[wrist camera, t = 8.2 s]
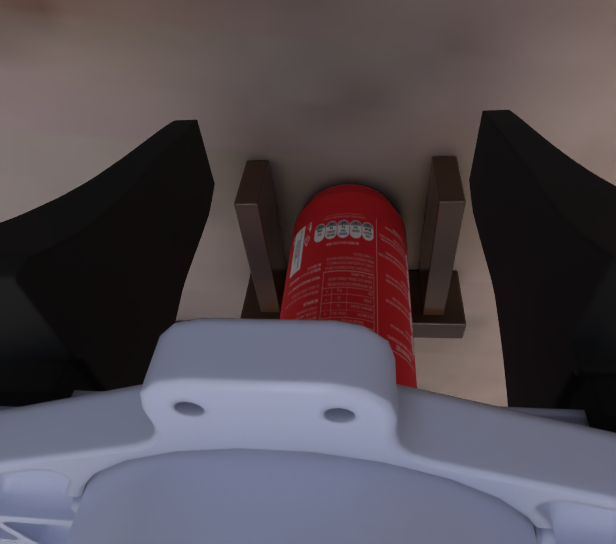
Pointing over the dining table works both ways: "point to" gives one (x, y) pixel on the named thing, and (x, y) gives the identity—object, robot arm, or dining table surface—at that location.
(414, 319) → the can holder
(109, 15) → the dining table surface
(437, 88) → the dining table surface
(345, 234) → the beverage can
